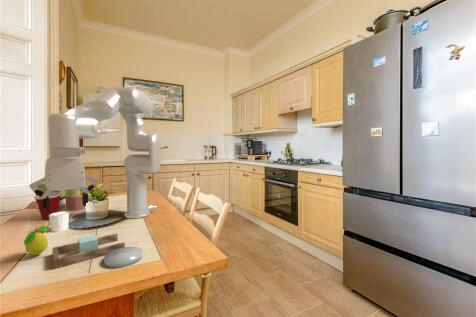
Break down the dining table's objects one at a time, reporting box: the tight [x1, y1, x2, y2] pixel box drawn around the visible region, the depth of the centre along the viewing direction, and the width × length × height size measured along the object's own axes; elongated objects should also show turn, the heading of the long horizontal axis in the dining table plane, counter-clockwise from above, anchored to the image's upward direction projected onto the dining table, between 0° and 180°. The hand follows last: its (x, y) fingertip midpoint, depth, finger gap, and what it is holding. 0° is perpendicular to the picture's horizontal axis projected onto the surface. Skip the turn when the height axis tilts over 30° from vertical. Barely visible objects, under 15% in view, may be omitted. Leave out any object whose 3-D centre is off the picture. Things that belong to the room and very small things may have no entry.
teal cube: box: [77, 234, 99, 254], centre depth 77 cm, size 5×5×5 cm
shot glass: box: [49, 211, 70, 233], centre depth 98 cm, size 7×7×7 cm
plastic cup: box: [33, 192, 62, 221], centre depth 112 cm, size 11×11×12 cm
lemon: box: [23, 225, 49, 256], centre depth 75 cm, size 7×6×10 cm
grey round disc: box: [103, 246, 143, 269], centre depth 73 cm, size 11×11×2 cm
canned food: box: [65, 185, 89, 212], centre depth 131 cm, size 11×11×12 cm
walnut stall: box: [52, 233, 126, 270], centre depth 77 cm, size 19×11×2 cm, turn 131°
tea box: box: [35, 182, 66, 210], centre depth 136 cm, size 15×10×15 cm
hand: (66, 207), depth 73 cm, fingers open, 9 cm apart
